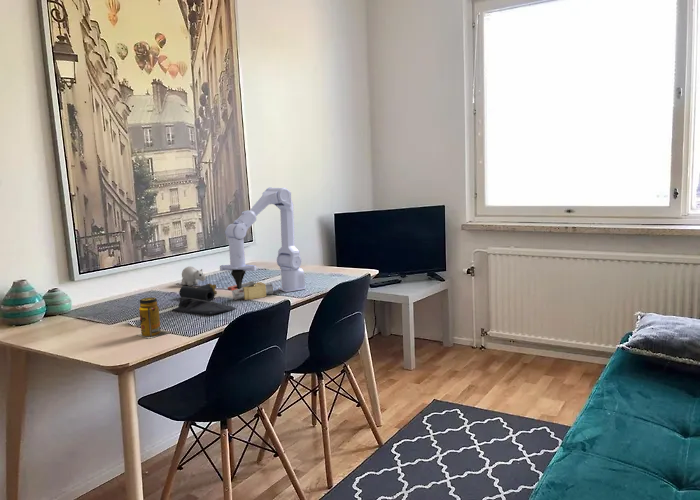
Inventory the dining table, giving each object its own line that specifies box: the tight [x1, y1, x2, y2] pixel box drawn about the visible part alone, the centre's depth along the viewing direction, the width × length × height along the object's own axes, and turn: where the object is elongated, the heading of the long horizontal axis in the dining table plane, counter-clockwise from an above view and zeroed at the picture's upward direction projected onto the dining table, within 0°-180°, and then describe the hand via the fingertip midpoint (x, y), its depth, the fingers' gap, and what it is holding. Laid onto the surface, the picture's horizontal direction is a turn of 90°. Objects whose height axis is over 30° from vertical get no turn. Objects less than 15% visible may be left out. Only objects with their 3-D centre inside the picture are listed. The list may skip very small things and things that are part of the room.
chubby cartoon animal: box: [181, 266, 207, 287], centre depth 271 cm, size 7×12×8 cm, turn 66°
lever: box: [227, 280, 257, 292], centre depth 240 cm, size 13×3×1 cm, turn 142°
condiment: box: [137, 296, 170, 339], centre depth 195 cm, size 7×8×12 cm
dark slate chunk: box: [172, 297, 237, 316], centre depth 226 cm, size 15×22×5 cm
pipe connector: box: [179, 283, 218, 302], centre depth 246 cm, size 12×5×15 cm
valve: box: [231, 281, 274, 301], centre depth 244 cm, size 16×6×5 cm, turn 120°
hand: (239, 288), depth 236 cm, fingers closed, pressing on lever
